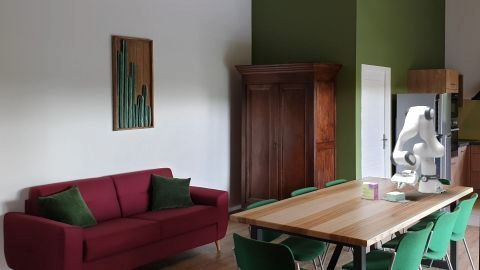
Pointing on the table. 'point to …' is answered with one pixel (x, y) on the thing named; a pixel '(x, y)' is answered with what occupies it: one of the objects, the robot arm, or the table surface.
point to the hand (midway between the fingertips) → (399, 188)
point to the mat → (398, 201)
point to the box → (370, 191)
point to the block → (395, 196)
